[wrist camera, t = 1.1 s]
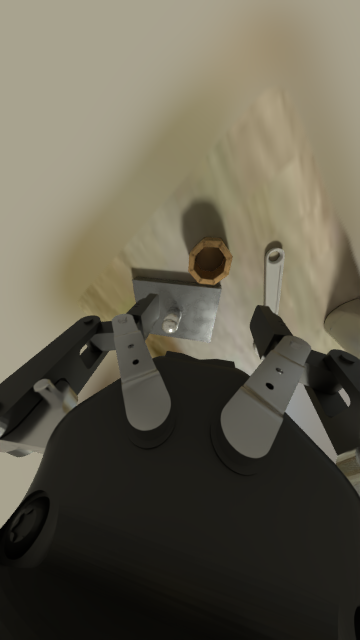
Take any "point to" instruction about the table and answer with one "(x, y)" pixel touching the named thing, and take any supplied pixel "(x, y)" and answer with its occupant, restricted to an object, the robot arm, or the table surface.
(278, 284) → the adjustable wrench
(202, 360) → the robot arm
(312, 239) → the table surface
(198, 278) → the wooden octagonal ring
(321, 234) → the table surface
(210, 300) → the block
